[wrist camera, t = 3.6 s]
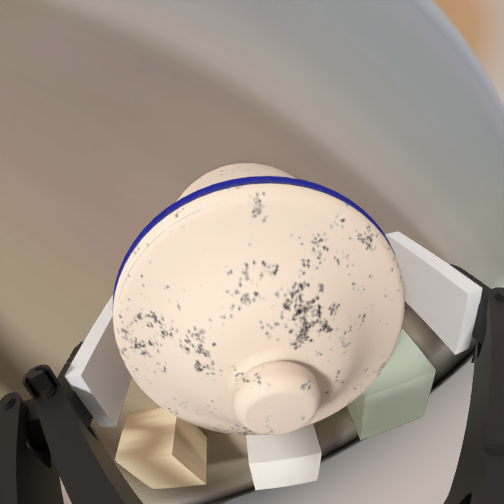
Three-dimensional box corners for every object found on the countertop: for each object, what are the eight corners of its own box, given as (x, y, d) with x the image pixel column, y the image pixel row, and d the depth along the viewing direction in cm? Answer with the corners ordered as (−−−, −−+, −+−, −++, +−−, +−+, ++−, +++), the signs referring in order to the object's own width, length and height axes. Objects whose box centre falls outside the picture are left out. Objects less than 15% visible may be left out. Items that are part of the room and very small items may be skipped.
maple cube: (158, 444, 23) (152, 488, 18) (127, 413, 21) (114, 460, 17) (207, 436, 23) (206, 484, 18) (178, 402, 21) (171, 454, 16)
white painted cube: (250, 444, 24) (255, 490, 19) (244, 412, 22) (248, 463, 17) (306, 436, 24) (317, 480, 19) (307, 403, 22) (321, 452, 17)
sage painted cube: (341, 392, 22) (360, 439, 17) (340, 347, 20) (365, 396, 15) (396, 375, 22) (422, 416, 17) (402, 328, 20) (436, 370, 16)
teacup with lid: (132, 211, 16) (1, 337, 5) (283, 128, 15) (413, 108, 4) (238, 365, 20) (251, 527, 9) (361, 306, 19) (456, 444, 8)
